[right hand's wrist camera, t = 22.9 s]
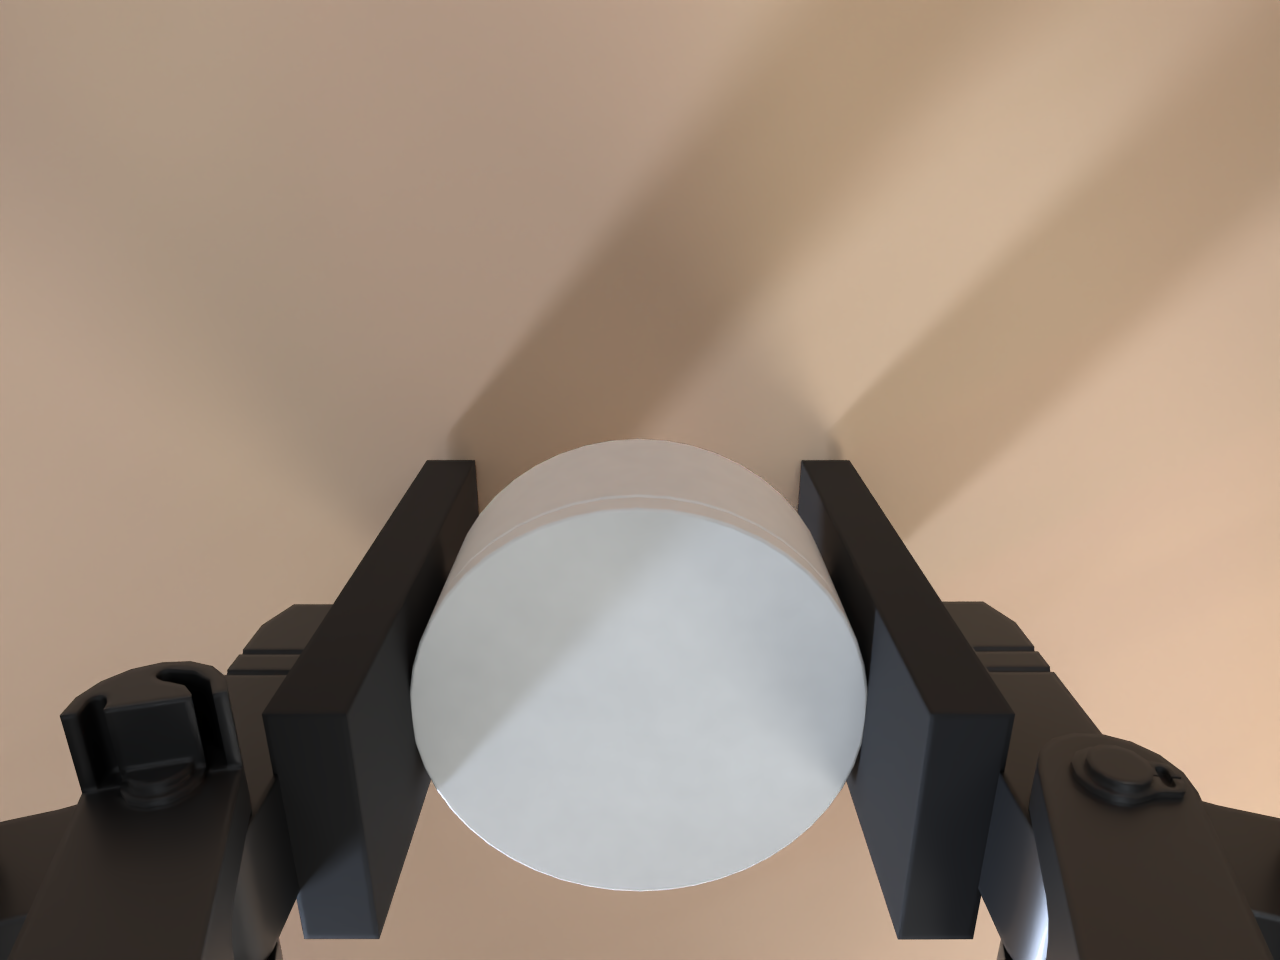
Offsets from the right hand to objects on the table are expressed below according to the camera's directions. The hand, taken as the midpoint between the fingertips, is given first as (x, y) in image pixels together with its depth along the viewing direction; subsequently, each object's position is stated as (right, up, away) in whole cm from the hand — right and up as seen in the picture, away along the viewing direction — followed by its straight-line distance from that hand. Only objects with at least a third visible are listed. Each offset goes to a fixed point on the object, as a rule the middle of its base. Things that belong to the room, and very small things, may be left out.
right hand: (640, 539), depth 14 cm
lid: (0, -2, -4) cm, 4 cm away
